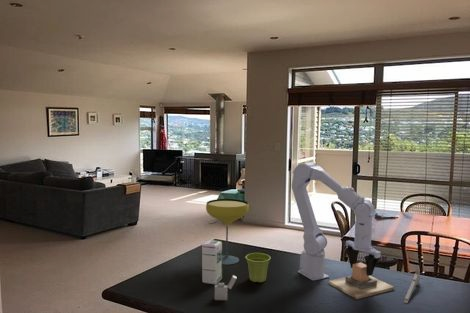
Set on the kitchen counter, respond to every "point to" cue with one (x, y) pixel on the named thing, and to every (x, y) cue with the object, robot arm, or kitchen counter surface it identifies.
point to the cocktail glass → (227, 218)
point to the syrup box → (212, 261)
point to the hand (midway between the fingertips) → (361, 271)
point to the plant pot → (257, 266)
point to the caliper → (412, 285)
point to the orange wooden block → (359, 272)
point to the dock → (360, 286)
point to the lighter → (223, 289)
